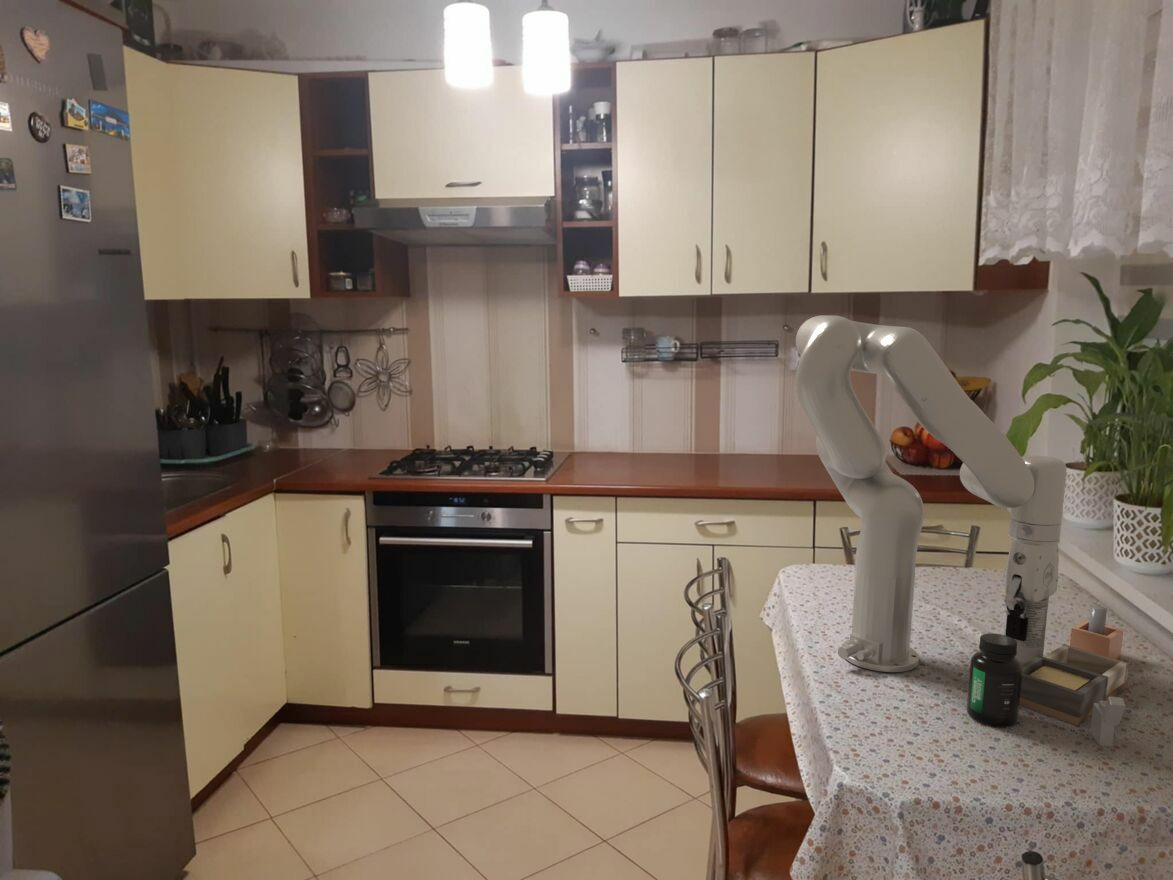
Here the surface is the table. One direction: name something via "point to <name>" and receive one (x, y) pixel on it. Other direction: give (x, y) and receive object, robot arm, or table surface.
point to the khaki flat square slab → (1060, 677)
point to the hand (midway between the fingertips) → (1024, 632)
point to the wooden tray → (1065, 701)
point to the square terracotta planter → (1097, 635)
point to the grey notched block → (1106, 719)
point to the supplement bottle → (995, 681)
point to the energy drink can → (1033, 630)
